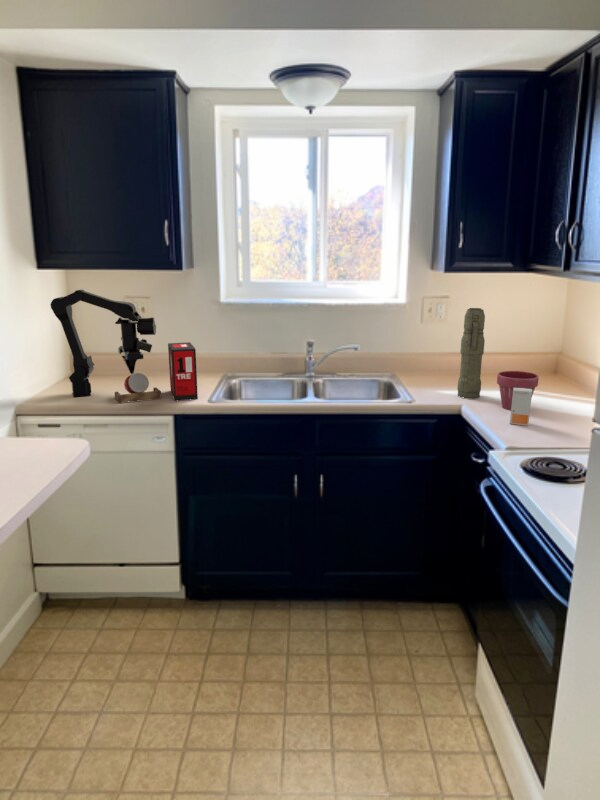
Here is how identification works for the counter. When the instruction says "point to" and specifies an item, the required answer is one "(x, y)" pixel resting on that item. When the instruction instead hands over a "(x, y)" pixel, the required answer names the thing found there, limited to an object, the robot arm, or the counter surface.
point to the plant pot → (514, 384)
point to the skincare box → (521, 406)
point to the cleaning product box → (183, 371)
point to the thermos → (471, 354)
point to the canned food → (136, 383)
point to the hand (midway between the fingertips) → (132, 373)
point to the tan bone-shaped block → (138, 396)
